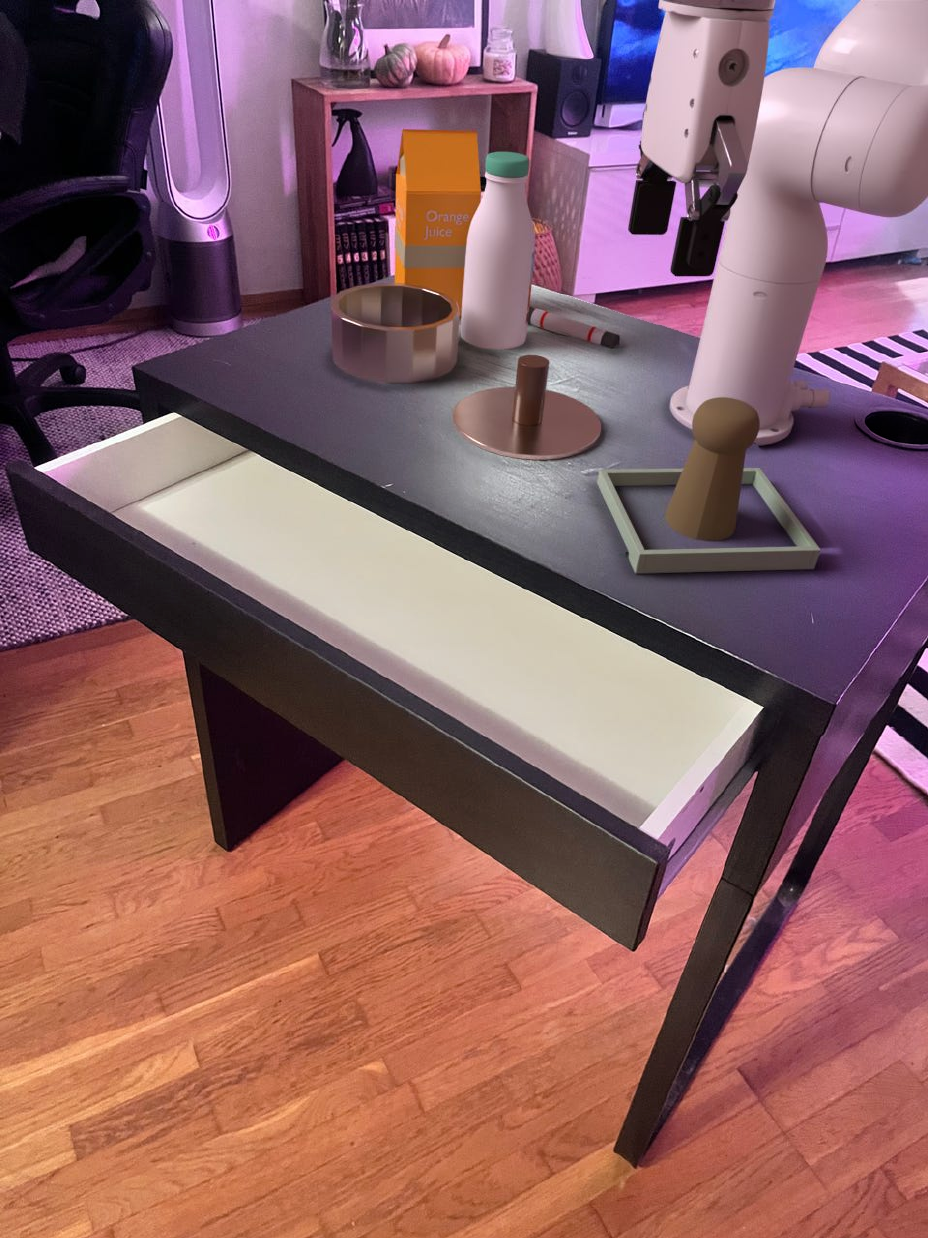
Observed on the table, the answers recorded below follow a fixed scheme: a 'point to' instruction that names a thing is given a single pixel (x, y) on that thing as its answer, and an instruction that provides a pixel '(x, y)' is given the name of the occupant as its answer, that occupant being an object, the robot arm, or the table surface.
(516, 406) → the pan lid
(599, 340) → the marker
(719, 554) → the grey rectangular frame
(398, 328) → the pan
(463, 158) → the orange juice
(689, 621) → the table surface
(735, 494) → the brown chess pawn
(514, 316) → the milk bottle
